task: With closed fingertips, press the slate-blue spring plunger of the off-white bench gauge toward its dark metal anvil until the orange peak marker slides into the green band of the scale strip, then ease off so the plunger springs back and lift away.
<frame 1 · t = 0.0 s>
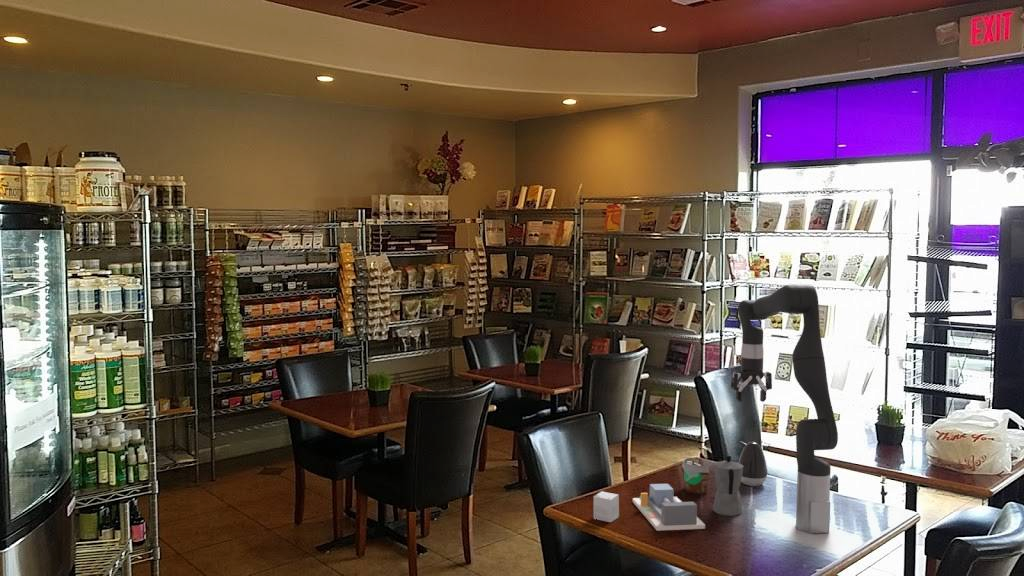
hand: (751, 401, 282), 29 cm above the table, fingers open, 8 cm apart
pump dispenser: (751, 484, 282), on the table
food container: (691, 491, 274), on the table
coffeepot: (727, 512, 253), on the table
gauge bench: (667, 514, 250), on the table
skincare box: (606, 518, 247), on the table
plunger: (657, 497, 253), point 4 cm above the table, slide at 0.0 cm
peak marker: (644, 499, 254), point 4 cm above the table, slide at 0.0 cm
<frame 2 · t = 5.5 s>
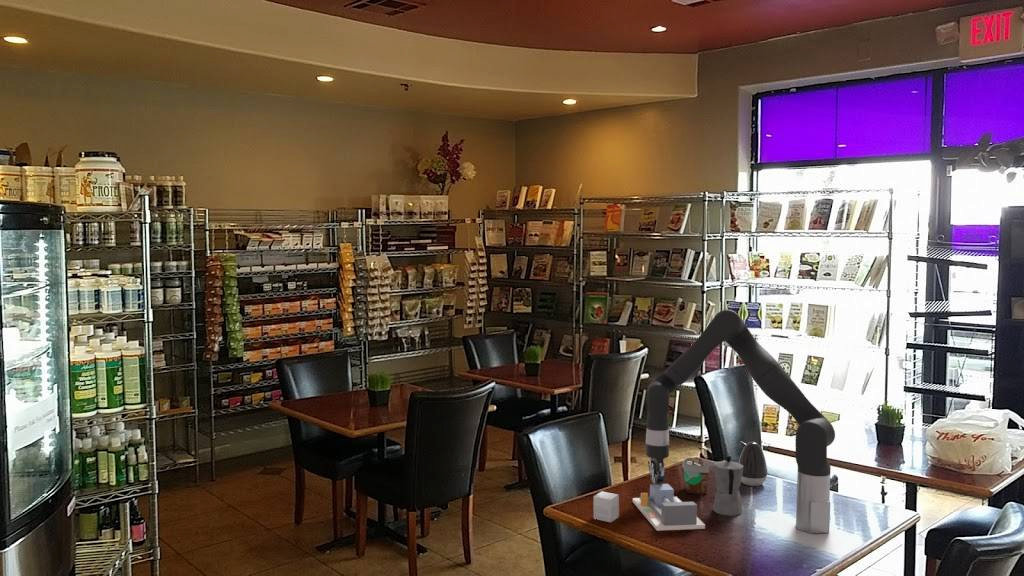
hand: (656, 493, 262), 3 cm above the table, fingers closed
plunger: (657, 498, 253), point 4 cm above the table, slide at 0.2 cm, touching gripper
everything else where it was.
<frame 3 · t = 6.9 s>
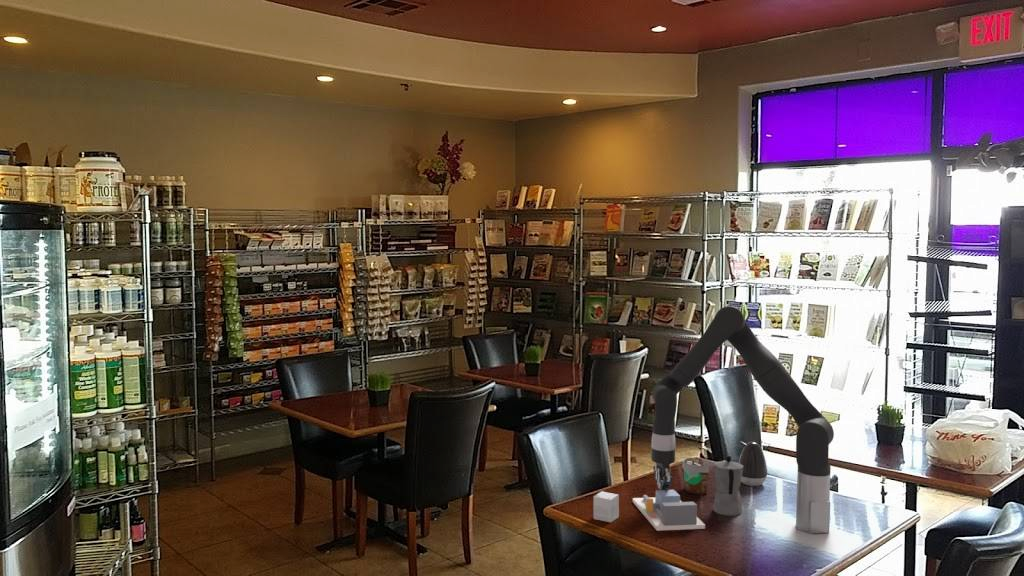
hand: (662, 499, 256), 3 cm above the table, fingers closed
plunger: (663, 504, 247), point 4 cm above the table, slide at 6.2 cm, touching gripper, peak marker
peak marker: (649, 505, 248), point 4 cm above the table, slide at 5.8 cm, touching plunger
everything else where it was.
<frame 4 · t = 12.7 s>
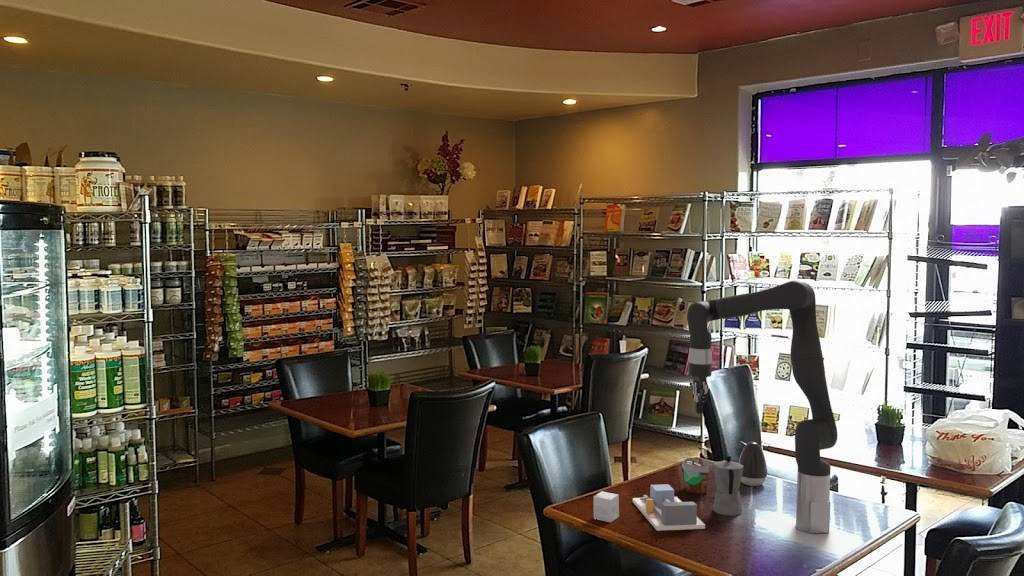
hand: (698, 413, 264), 29 cm above the table, fingers closed
plunger: (658, 498, 253), point 4 cm above the table, slide at 0.7 cm
peak marker: (649, 505, 248), point 4 cm above the table, slide at 5.9 cm
everything else where it was.
at the end: peak marker slide at 5.9 cm; plunger slide at 0.7 cm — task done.
